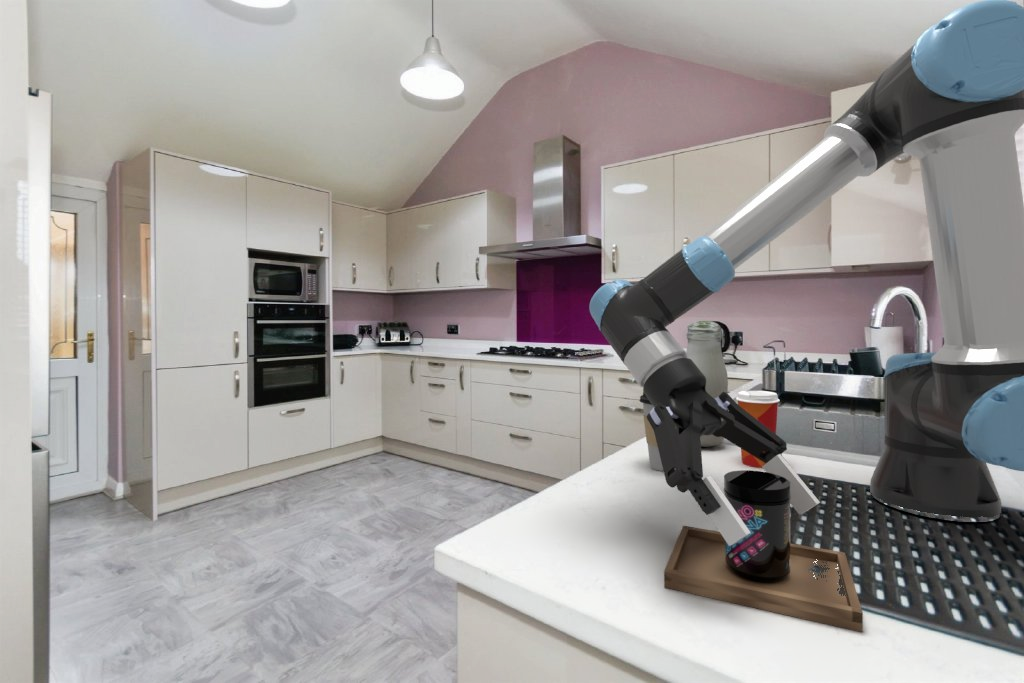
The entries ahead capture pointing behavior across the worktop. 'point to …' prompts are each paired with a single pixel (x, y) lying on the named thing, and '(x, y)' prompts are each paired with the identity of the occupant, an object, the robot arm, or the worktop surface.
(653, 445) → the coffee cup
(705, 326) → the glass bottle
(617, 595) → the worktop surface
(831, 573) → the tray
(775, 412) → the paper cup
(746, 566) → the supplement container
